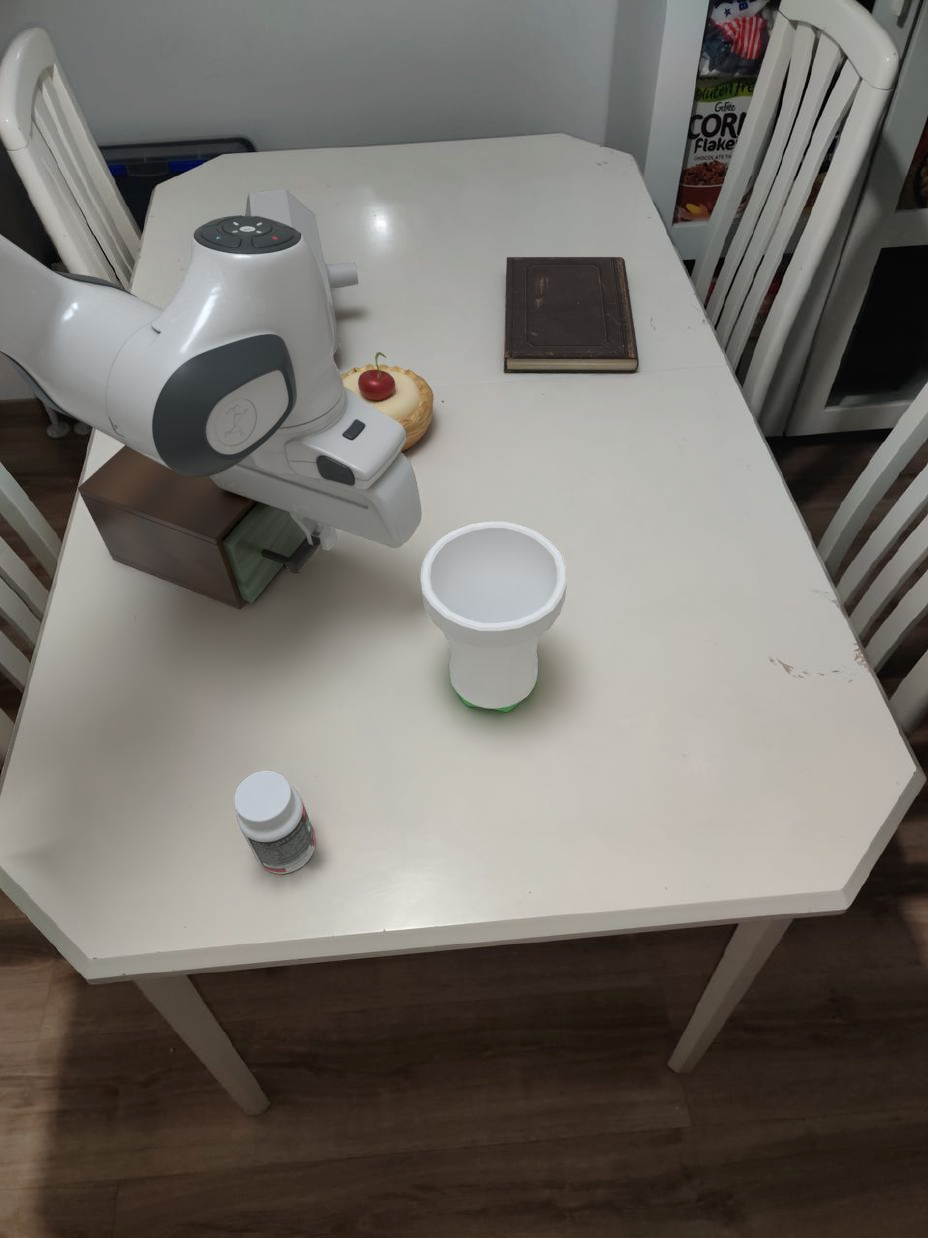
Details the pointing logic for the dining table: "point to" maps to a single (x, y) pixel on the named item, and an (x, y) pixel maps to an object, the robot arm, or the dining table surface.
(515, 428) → the dining table surface
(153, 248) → the dining table surface
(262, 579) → the drawer
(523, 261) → the hardcover book
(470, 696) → the cup
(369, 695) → the dining table surface
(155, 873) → the dining table surface
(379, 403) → the pastry
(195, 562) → the cabinet
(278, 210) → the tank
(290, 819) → the pill bottle
